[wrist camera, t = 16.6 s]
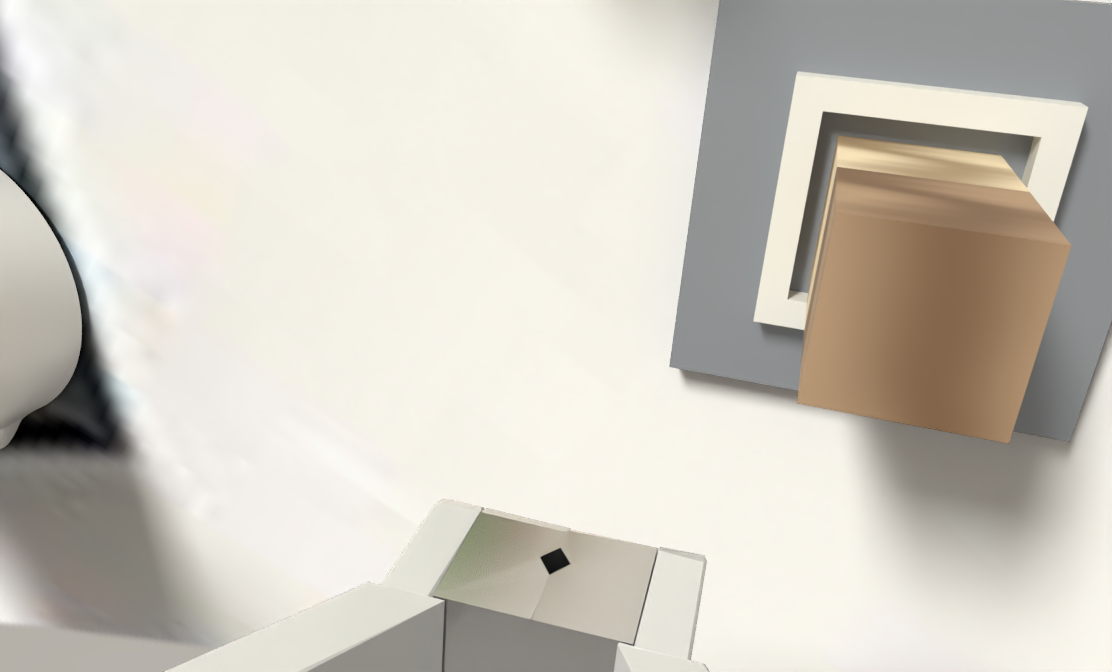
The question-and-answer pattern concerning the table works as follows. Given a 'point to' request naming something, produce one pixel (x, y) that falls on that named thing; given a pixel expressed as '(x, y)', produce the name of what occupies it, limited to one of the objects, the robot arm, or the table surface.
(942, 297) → the block stack
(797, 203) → the slate plate
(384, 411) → the table surface
